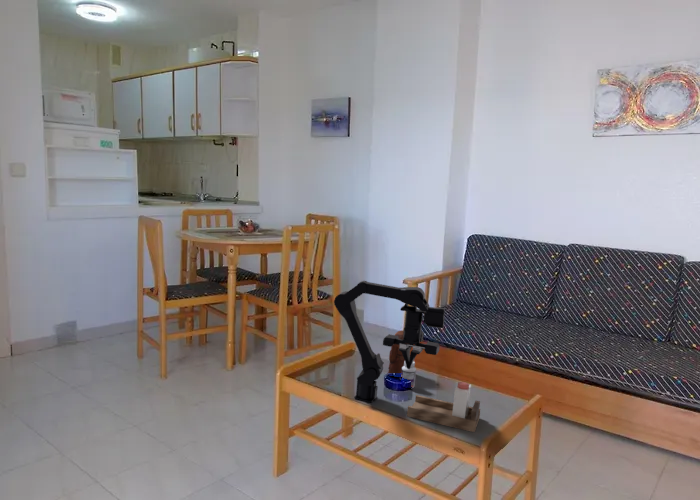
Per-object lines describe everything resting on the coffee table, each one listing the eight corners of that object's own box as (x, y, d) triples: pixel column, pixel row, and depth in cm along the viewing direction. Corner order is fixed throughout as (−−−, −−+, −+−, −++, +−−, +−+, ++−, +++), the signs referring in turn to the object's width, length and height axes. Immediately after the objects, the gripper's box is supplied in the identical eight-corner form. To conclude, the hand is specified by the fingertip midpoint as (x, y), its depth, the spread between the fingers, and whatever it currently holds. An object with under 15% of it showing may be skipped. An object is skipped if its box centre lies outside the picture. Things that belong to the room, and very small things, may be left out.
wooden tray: (406, 416, 168) (408, 398, 167) (415, 403, 179) (417, 386, 179) (474, 432, 160) (476, 413, 160) (479, 418, 171) (481, 400, 171)
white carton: (451, 420, 165) (455, 386, 163) (456, 410, 172) (459, 378, 171) (464, 423, 163) (467, 389, 162) (467, 413, 171) (471, 381, 170)
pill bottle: (403, 382, 199) (405, 358, 198) (416, 385, 197) (418, 361, 196) (398, 386, 194) (400, 361, 193) (411, 390, 192) (413, 365, 191)
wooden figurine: (396, 368, 215) (400, 327, 213) (410, 372, 212) (414, 330, 210) (384, 376, 205) (388, 332, 203) (399, 380, 202) (403, 335, 200)
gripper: (444, 324, 179) (440, 367, 180) (393, 315, 185) (389, 357, 187) (438, 331, 168) (433, 376, 170) (384, 321, 175) (380, 365, 177)
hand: (408, 368), depth 176 cm, fingers closed
